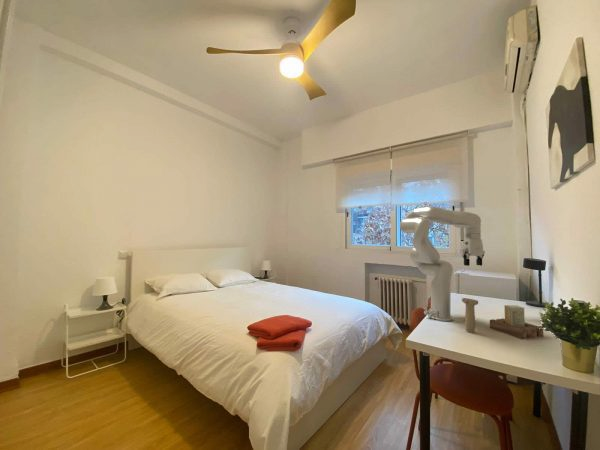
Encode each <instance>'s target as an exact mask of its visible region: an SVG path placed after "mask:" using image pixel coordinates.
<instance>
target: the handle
mask: <svg viewBox="0 0 600 450" xmlns="http://www.w3.org/2000/svg"><path fill="white" fill-rule="evenodd" d="M461 302H462V303H463V304H465V313H464V314H465V315H464V323H465V325H464V326H465V331H466V332H467V333H469V334H470V333H471V334H475V329H476V313H475V311H476V310H475V306H476V305H479V300H477V299H473V298H468V297H467V298H466V297H462V298H461Z"/></svg>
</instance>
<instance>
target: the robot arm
mask: <svg viewBox="0 0 600 450" xmlns="http://www.w3.org/2000/svg"><path fill="white" fill-rule="evenodd" d="M430 222H431V223H434V224H435V223H436V224H440V225H446V226H447V225H448V226H453V227H456V228H457V229H463V228H464V230H465V234H464V235H465V237H464V244H463V249H462V250H460V254H461V256H462V258H463V265H464V266H466V267H467V266H468V267H469V266H470V264H471V263H470V262H471V261H470V258H471V257H474V256H475V257H476V259H475V260H476V261H475V263H476V266H483V259H484V256H485V253H486V251H485V250H484V244H483V240H482V238H481V237H482V236H481V235H482V234H481V232H482V230H481V226H482V225H481V222H482V220H481V217H480V216H479V215H478V214H476V213H473V212H470V211H462V210H461V211H459V210H453V209H452V210H450V209H446V208H442V207H437V206H434V205H433V206H432V205H428V206H419V207H417V208H415V209H413V210H412V211H411V212H410V213H408V214H407V215H406V216H404V217H403V218H402V220H401V221H400V223H399V228H400V230H401V232H403V233H404V234H413V237H412V246H413V247H411V249H410V251H409V256H410V260H411V261H412V262H413V264H414V265H415V266H416V267H417V268H418V270H419V272H421V274H424V275H426V276H431V277H434V278H433V279H432V281H431V283H430V308H429V309H428V310H424V311H423V313H424V315H426V316H427V317H428V318H430V319H433V320H436V321H440V322H452V321H453V322H454V320H455V318H454V316H453V315H451V310H452V309H451V286H452V285H451V284H452V282H451V281H452V275H453V270H454V269H453V265H452V264H451V263H450V262H448V261H446V260H442V259H441V257H440V256H441V255H440V252H439V250H437V248H436V247H435V246H434V245H433V243H432V242H431V240H430V238H429V234H430V227H431V224H430Z"/></svg>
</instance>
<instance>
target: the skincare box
mask: <svg viewBox="0 0 600 450" xmlns="http://www.w3.org/2000/svg"><path fill="white" fill-rule="evenodd" d="M504 319H505V323H507V324H510V325H513V326H516V327H519V328H521V327H525V322H526V321H525V319H526V318H525V307H523V306H520V305H510V304H509V305H508V304H507V305H506V304H505V305H504Z"/></svg>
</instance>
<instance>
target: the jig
mask: <svg viewBox="0 0 600 450" xmlns="http://www.w3.org/2000/svg"><path fill="white" fill-rule="evenodd" d="M539 327H540V326H539V325H535V324H532V323H530V322H529V323H528V322H526V321H525V327H521V328H519V327H516V326H513V325H510V324H507V323H505V317H504V318H496V319H495V318H494V319H489V329H492V330H494V331H497V332H500V333H502V334H506V335H508V336H511V337H514V338H516V339H519V340H527V339H536V338H544V328H543V329H539Z"/></svg>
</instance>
